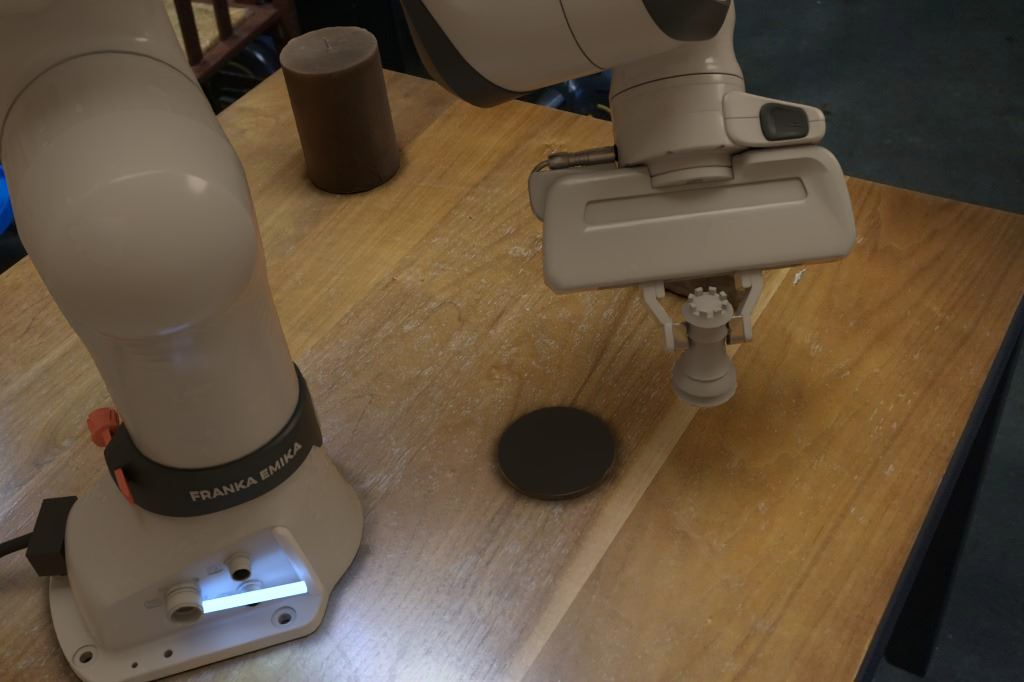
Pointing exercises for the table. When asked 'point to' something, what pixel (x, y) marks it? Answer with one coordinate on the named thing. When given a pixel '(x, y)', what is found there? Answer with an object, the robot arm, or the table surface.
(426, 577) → the table surface
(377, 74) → the pillar candle
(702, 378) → the rook chess piece
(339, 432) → the table surface
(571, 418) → the slate coaster
